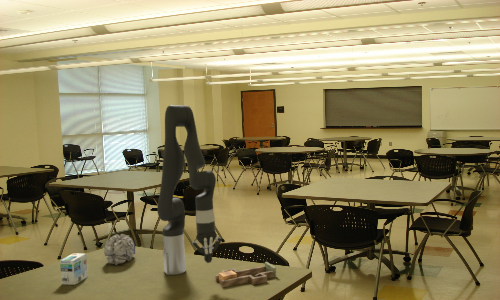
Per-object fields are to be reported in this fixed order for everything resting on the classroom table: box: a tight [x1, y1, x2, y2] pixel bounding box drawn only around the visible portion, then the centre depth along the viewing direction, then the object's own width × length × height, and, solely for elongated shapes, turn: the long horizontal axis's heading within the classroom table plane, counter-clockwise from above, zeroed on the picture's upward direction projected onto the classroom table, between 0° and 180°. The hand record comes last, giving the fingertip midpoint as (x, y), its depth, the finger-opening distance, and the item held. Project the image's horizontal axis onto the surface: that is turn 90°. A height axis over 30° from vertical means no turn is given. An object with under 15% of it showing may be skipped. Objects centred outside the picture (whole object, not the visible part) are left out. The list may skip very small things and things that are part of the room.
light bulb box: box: [59, 252, 89, 286], centre depth 204 cm, size 11×7×11 cm, turn 168°
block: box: [218, 270, 237, 284], centre depth 193 cm, size 6×5×4 cm
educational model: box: [103, 233, 136, 266], centre depth 228 cm, size 14×20×15 cm
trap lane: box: [214, 261, 277, 288], centre depth 197 cm, size 24×16×4 cm, turn 113°
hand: (208, 262), depth 189 cm, fingers closed
